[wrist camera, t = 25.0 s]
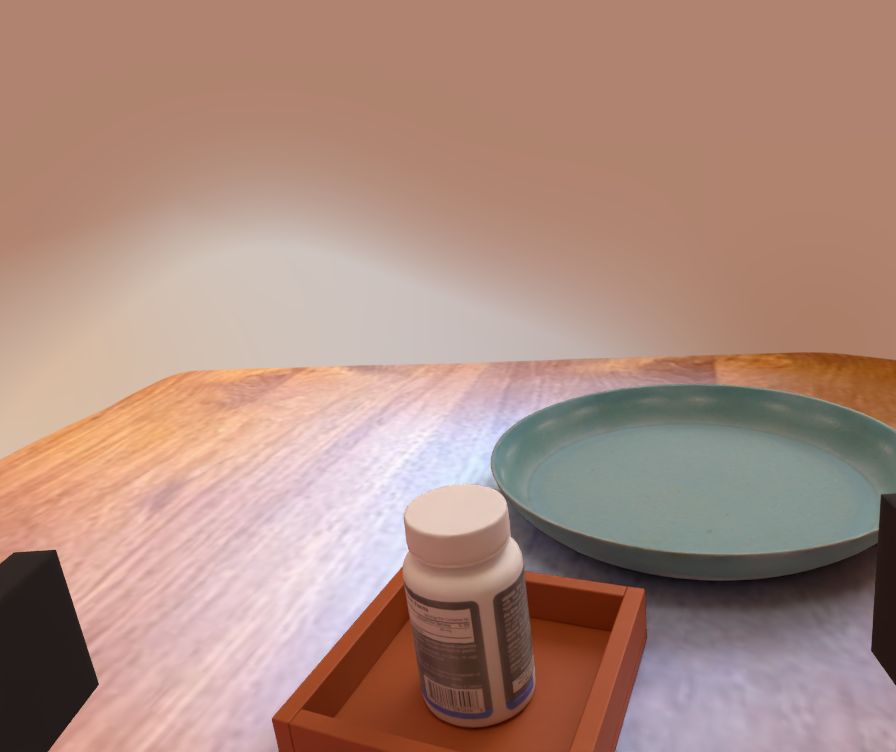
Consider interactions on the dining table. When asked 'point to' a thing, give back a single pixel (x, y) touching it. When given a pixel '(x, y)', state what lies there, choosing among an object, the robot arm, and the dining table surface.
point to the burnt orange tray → (491, 747)
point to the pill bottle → (468, 606)
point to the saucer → (701, 479)
